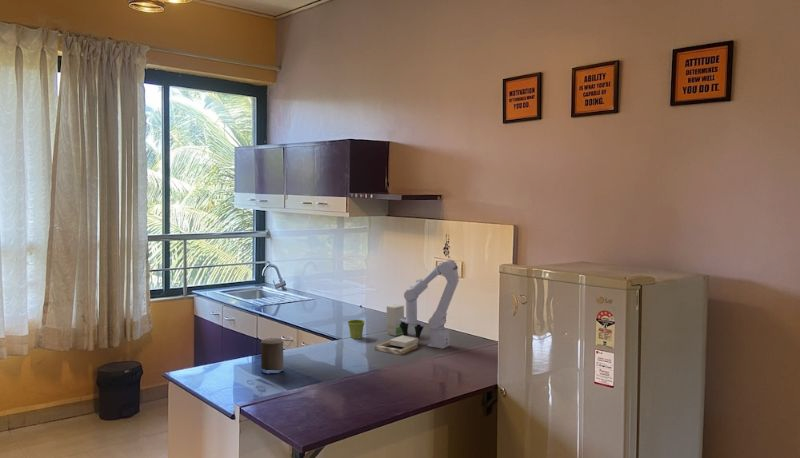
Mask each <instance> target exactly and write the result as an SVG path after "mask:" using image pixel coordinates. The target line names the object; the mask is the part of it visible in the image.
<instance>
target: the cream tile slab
mask: <svg viewBox="0 0 800 458" xmlns="http://www.w3.org/2000/svg"><path fill="white" fill-rule="evenodd" d="M389 340H390V346H391V348H394V347H401V348H405V347H408V346H410V345H413V344H418V343H419V339H418V338H416V336H410V335H407V336H404V335H403V334H401V335H398V336H397V337H396V336H395V337H393V338H391V339H389Z"/></svg>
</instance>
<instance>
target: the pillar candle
mask: <svg viewBox="0 0 800 458" xmlns="http://www.w3.org/2000/svg"><path fill="white" fill-rule="evenodd" d="M260 353H261V355H260V363H261V364H260V365H261V366H260V367H261V368H262V369H265V370H282V369H284V340H283V339H282V338H277V337H276V338H275V337H271V338H264V339H261V341H260ZM261 368H260V369H261Z"/></svg>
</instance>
